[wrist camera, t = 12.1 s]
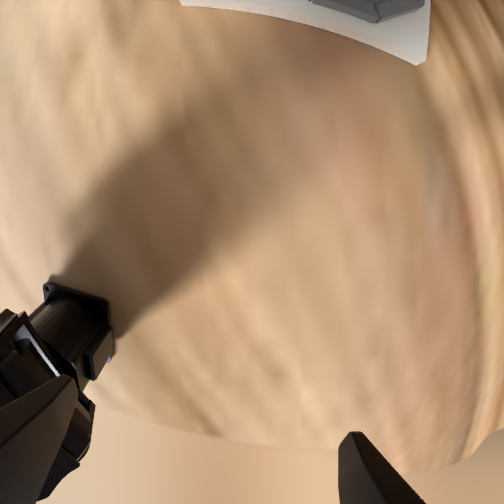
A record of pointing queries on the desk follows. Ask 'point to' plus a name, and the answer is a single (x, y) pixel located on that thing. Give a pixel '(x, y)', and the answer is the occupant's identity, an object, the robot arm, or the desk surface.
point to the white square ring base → (350, 20)
